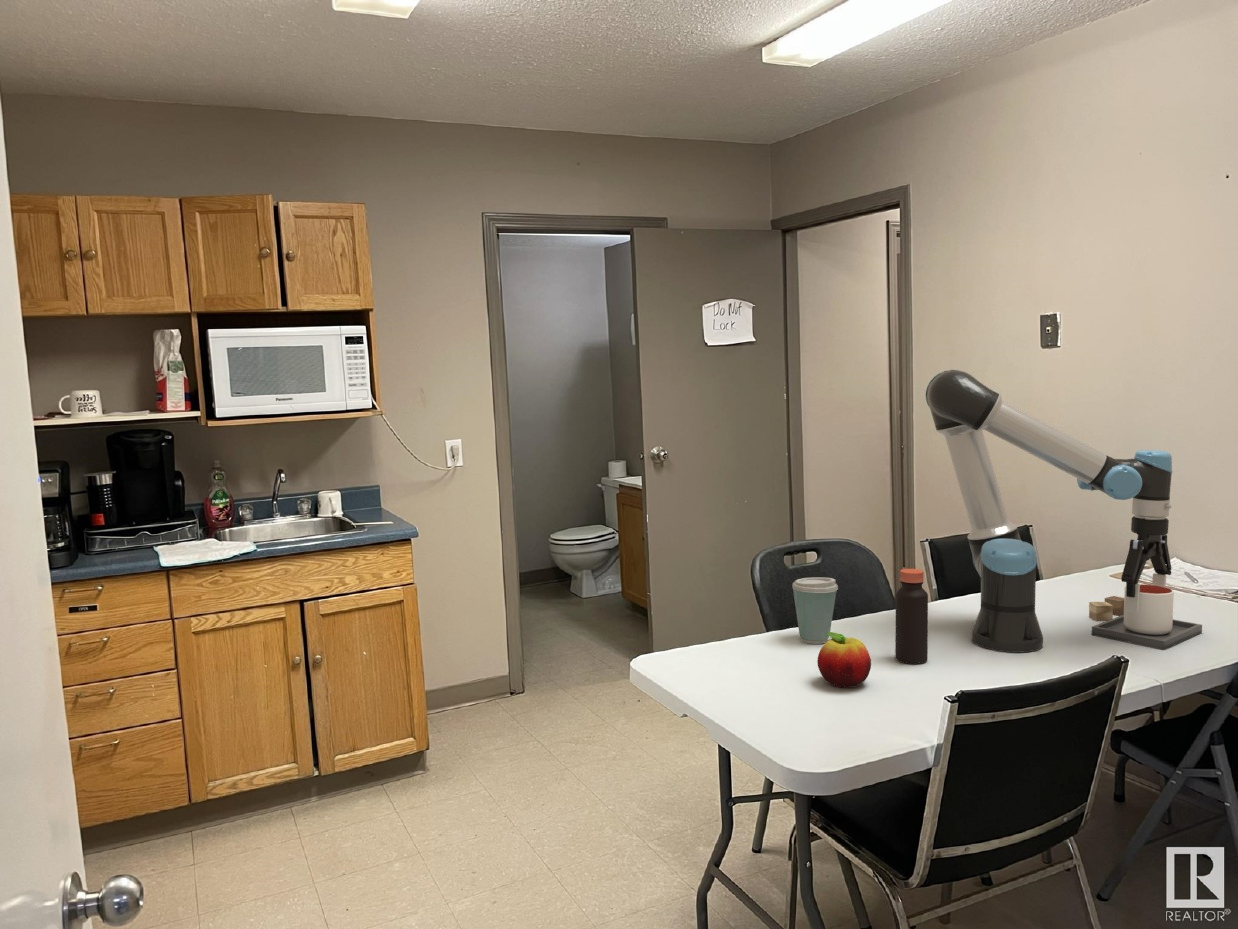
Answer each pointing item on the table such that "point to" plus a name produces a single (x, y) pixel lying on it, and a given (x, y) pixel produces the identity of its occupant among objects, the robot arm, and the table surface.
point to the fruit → (844, 661)
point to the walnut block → (1116, 604)
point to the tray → (1121, 633)
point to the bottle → (911, 618)
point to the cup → (1151, 611)
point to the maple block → (1100, 611)
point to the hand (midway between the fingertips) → (1145, 606)
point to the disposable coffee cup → (814, 607)
